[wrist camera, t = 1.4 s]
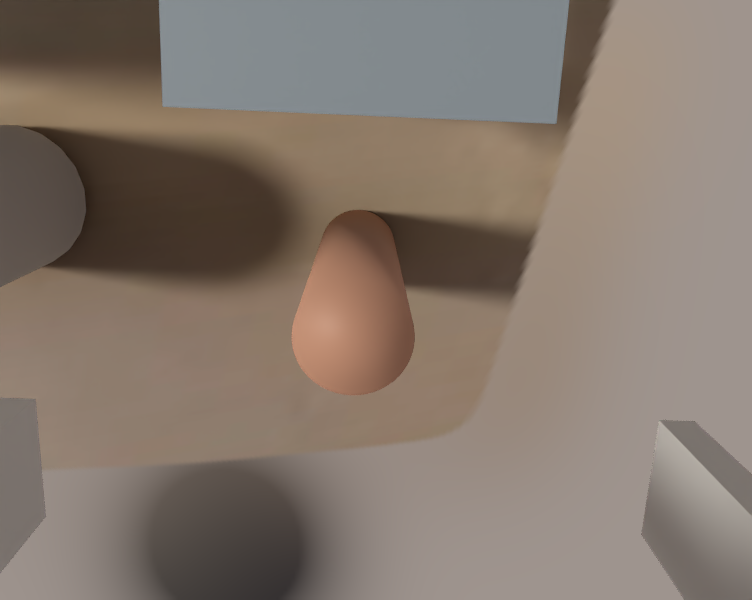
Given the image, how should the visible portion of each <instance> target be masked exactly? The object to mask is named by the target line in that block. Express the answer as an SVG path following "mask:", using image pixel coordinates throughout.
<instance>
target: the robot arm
mask: <svg viewBox="0 0 752 600" xmlns="http://www.w3.org/2000/svg"><path fill="white" fill-rule="evenodd" d="M45 517H46V514H45V502H44V491H43V479H42V467H41V456H40V444H39V433H38V421H37V410H36V399H23V398H0V573H1V571H2V570H3V569H4V568H5V567H6V565H7V564H8V563H9V562H10V560H11V559H12V558H13V557H14V555H15V554H16V553H17V552H18V550H19V549H20V548H21V547H22V545H23V544H24V543H25V542H26V540H27V539H28V538H29V537H30V535H31V534H32V533H33V532H34V531H35V529H36V528H37V527H38V526H39V524H40V523H41V522H42V521H43V519H44V518H45ZM641 535H642V536H643V538H644V539H645V541H646V542H647V544H648V545H649V547H650V548H651V550H652V551H653V553H654V555H655V556H656V558H657V559H658V561H659V562H660V564H661V565H662V567H663V568H664V570H665V571H666V573H667V574H668V576H669V577H670V579H671V580H672V582H673V583H674V585H675V586H676V588H677V590H678V591H679V592H680V594H681V596H682V597H683V598H684V600H752V474H751V473H750V472H749V471H748V470H747V469H746V468H745V467H743V466H742V465H741V464H740V463H739V462H738V461H737V460H736V459H735V458H734V457H733V456H732V455H730V454H729V453H728V452H727V451H726V450H725V449H724V448H723V447H722V446H721V445H720V444H719V443H718V442H716V441H715V440H714V439H713V438H712V437H711V436H710V435H709V434H708V433H707V432H706V431H705V430H703V429H702V428H701V427H700V426H699V425H698V424H697V423H696V422H695V421H667V420H666V421H665V420H659V425H658V431H657V438H656V444H655V450H654V457H653V463H652V469H651V476H650V482H649V489H648V496H647V502H646V508H645V515H644V521H643V527H642V533H641Z"/></svg>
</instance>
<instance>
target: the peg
mask: <svg viewBox="0 0 752 600" xmlns="http://www.w3.org/2000/svg"><path fill="white" fill-rule="evenodd" d="M414 341H415V332H414V326H413V321H412V317H411V312H410V308H409V303H408V299H407V295H406V290H405V286H404V281H403V277H402V273H401V268H400V264H399V259H398V255H397V250H396V246H395V242H394V238H393V234H392V232H391V230H390V228H389V226H388V225H387V224H386V222H385V221H384V220H383V219H382V218H380V217H379V216H377V215H375V214H374V213H371V212H368V211H364V210H352V211H348V212H344V213H342V214H340V215H339V216H337V217H336V218H334V219H333V220H332V221H331V222H330V223H329V225H328V226H327V228H326V229H325V231H324V234H323V237H322V240H321V243H320V246H319V249H318V252H317V254H316V257H315V260H314V263H313V266H312V269H311V272H310V275H309V278H308V281H307V284H306V287H305V290H304V293H303V296H302V299H301V301H300V304H299V307H298V310H297V313H296V316H295V319H294V323H293V327H292V345H293V351H294V354H295V357H296V359H297V361H298V363H299V365H300V367H301V368H302V369H303V371H304V372H305V373H306V374H307V376H308V377H309V378H310V379H312V380H313V381H314V382H315V383H317V384H318V385H320V386H321V387H323V388H325V389H327V390H329V391H332V392H335V393H339V394H344V395H362V394H368V393H371V392H375V391H377V390H380V389H382V388H384V387H385V386H387V385H389V384H390V383H391V382H393V381H394V380H395V379H396V378H397V377H398V376H399V375H400V374H401V373H402V372H403V370H404V369H405V367H406V366H407V364H408V362H409V360H410V358H411V355H412V352H413V348H414Z"/></svg>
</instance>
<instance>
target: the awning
mask: <svg viewBox="0 0 752 600" xmlns="http://www.w3.org/2000/svg"><path fill="white" fill-rule="evenodd" d="M568 9H569V0H159V17H160V45H161V74H162V102H163V107H181V108H204V109H227V110H250V111H273V112H296V113H319V114H342V115H365V116H388V117H410V118H433V119H456V120H479V121H502V122H525V123H548V124H556V122H557V113H558V103H559V94H560V84H561V75H562V66H563V56H564V47H565V37H566V28H567V18H568Z"/></svg>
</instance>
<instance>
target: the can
mask: <svg viewBox="0 0 752 600" xmlns="http://www.w3.org/2000/svg"><path fill="white" fill-rule="evenodd" d="M85 214H86V202H85V189H84V187H83V184H82V182H81V179H80V177H79V174H78V172H77V169H76V167H75V166H74V164H73V163H72V162H71V160H70V159H69V158H68V157H67V155H66V154H65V153H64V152H63V150H62V149H61V148H60V147H59V146H57V145H56V144H55V143H53V142H52V141H50V140H49V139H48V138H46V137H45V136H43V135H42V134H41V133H38V132H35V131H32V130H29V129H26V128H24V127H21V126H18V125H0V287H1V286H3V285H5V284H8V283H10V282H12V281H14V280H16V279H18V278H20V277H22V276H24V275H26V274H28V273H31V272H33V271H35V270H37V269H39V268H41V267H43V266H45V265H47V264H49V263H51V262H53V261H55V260H56V259H57V258H59V257H60V256H61V255H63V254H64V253H66V252H67V251H68V250H69V249H70V248H71V247H72V245H73V244H74V242H75V241H76V239H77V238H78V236H79V235H80V233H81V230H82V226H83V222H84V218H85Z"/></svg>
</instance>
